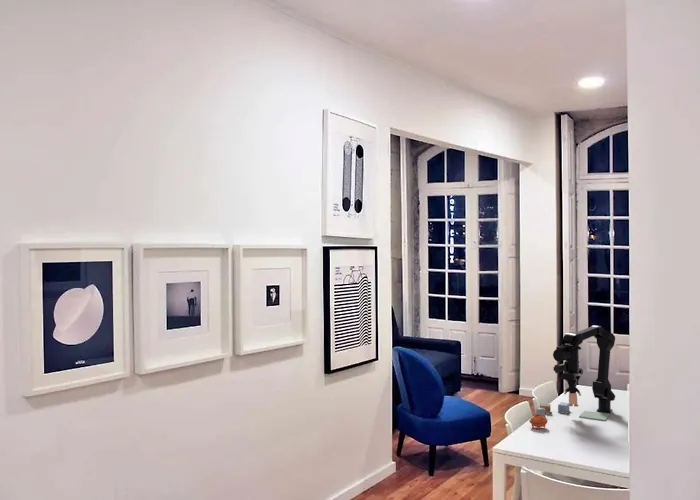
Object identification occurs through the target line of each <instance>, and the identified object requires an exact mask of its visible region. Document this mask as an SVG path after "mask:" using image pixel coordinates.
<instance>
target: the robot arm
mask: <svg viewBox="0 0 700 500" xmlns="http://www.w3.org/2000/svg"><path fill="white" fill-rule="evenodd" d="M592 337H594V338H595V340H596V344H597V347H598V349H599V353H598V366H597V367H598V369H597V378H596V379H595V380H593V381H592V387H591V389H592V393H593V396H594V398H595V399H598V400H597V401H598V402H597V403H598V404H597V405H598V408H597V409H596V412H598V413H605V414H611V413H612V412H613V409H612V408H611V406H612V405H611V403H612V402H614V401H615V400H616V394H615V393H614V392H613V391H612V384H611V382H610V381H609V371H610V360H611V359H610V358H611V357H610V356H611V350H612V349H613V348H614V347H615V342H616V336H615V334H613V333H612V332H610V331H609V330H607V329H606V328H604V327H602V326H601V325H596V324H595V325H593V324H592V325H591V326H590V327H587V328H584V329H581V330H579V331H573V332H572V331H571V332H566V333H565V334H564V335H563V337H562V340H561V342H560V343H559V346H556V348H555V350H553V353H552V356H553V357H552V358H553V359H554V360H555V361H556V362H563V363H561V364H559V363H558V364H554V366H553V371H554V372H555V374H558V373H562V372H563V373H562V374H560V380H564V381H566V382H567V385H568V386H567V387H569V389H570V392H573V390H574V387H576V388H577V386H578V383H579V381H580V379H581V375H583V374H584V369H583V368H582V367H579V364H580V360H579V350H582V347H581V346H580V345H582V344H583V342H584V341H585V340H587V339H590V338H592ZM579 374H580V375H579Z"/></svg>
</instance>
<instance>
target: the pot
mask: <svg viewBox="0 0 700 500" xmlns="http://www.w3.org/2000/svg"><path fill="white" fill-rule="evenodd" d="M529 423H530V424H531V425H530V426H531V427H532V428H534V427H536V428H537V430H538V431H540V430H541V428H542V427H544V429H545V427H546V425H547V424H548V419H547V418H546V416H545V417H543V416H542V415H540V414H536V413H534V414H533V416H532V417H530V419H529Z"/></svg>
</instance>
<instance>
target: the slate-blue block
mask: <svg viewBox="0 0 700 500" xmlns="http://www.w3.org/2000/svg"><path fill="white" fill-rule="evenodd" d="M568 411H569V412H570V406H569V402H563V401H562V402H560V403H558V404H557V412H558V413H559V412H563V413H562V414H568V413H569V412H568Z"/></svg>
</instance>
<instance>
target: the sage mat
mask: <svg viewBox="0 0 700 500" xmlns="http://www.w3.org/2000/svg"><path fill="white" fill-rule="evenodd" d="M610 416H611V413H606V412H599V411H591V410H584V411H582V413H580V415H578V418H582V419H587V420H588V419H589V420H593V421H594V420H595V421H601V422H606V421H607V420H608V419H609V418H610Z"/></svg>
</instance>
